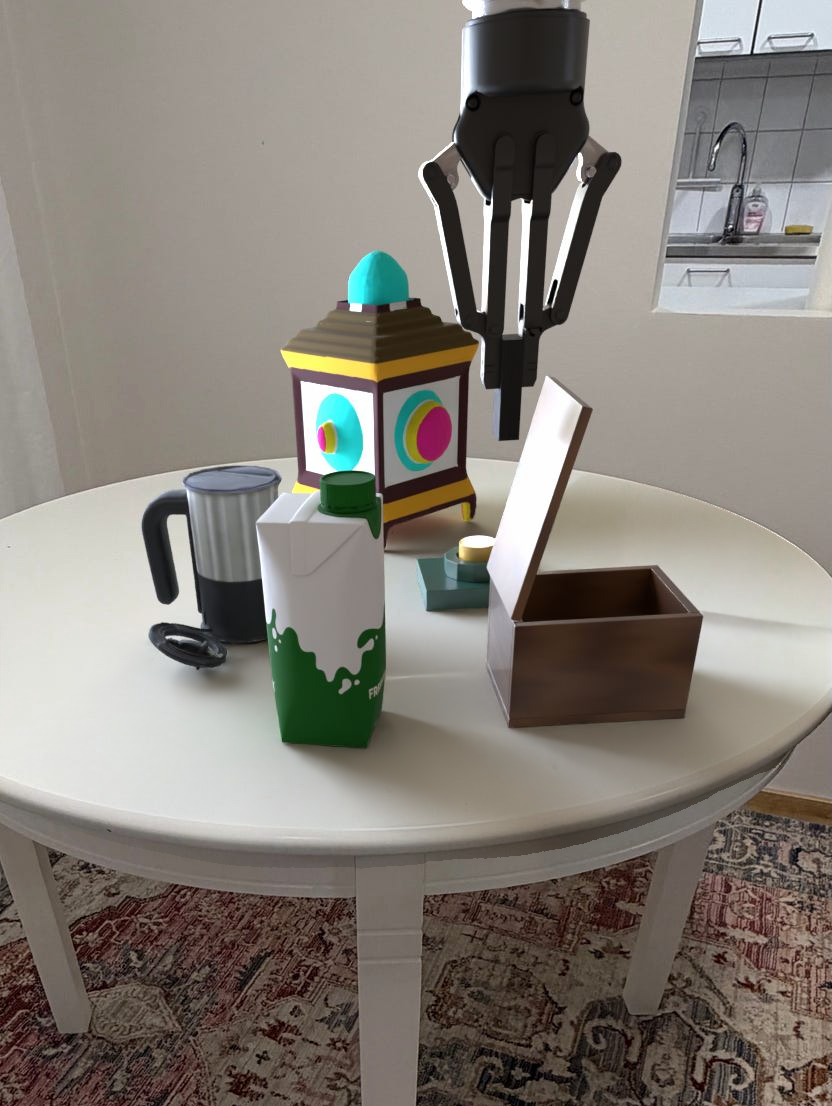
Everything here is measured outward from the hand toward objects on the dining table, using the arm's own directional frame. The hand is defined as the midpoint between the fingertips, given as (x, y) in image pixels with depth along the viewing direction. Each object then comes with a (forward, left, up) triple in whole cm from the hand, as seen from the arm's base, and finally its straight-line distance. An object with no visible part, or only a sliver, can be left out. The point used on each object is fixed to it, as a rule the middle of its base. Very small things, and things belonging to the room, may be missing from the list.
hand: (505, 435), depth 70 cm
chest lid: (-2, -1, -5) cm, 5 cm away
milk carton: (+10, +10, -22) cm, 26 cm away
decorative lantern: (+30, -41, -22) cm, 55 cm away
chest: (-7, -4, -21) cm, 23 cm away
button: (+10, -23, -18) cm, 31 cm away
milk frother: (+28, -1, -22) cm, 36 cm away
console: (+10, -23, -21) cm, 33 cm away
